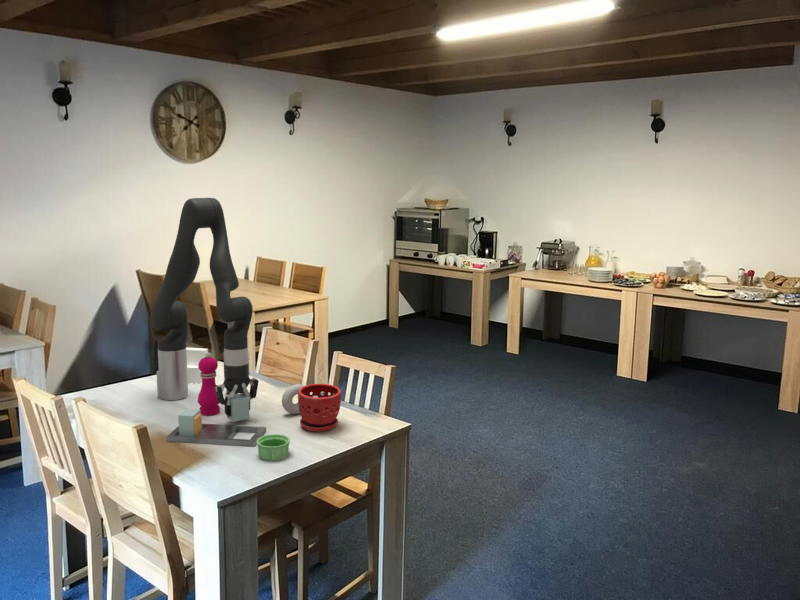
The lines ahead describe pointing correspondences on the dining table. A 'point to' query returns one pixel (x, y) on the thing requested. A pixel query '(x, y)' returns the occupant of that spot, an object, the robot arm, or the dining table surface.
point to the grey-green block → (239, 408)
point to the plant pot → (319, 407)
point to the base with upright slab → (194, 363)
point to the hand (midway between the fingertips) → (237, 413)
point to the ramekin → (273, 446)
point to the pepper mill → (208, 386)
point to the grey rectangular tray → (220, 435)
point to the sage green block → (190, 422)
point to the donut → (288, 397)
